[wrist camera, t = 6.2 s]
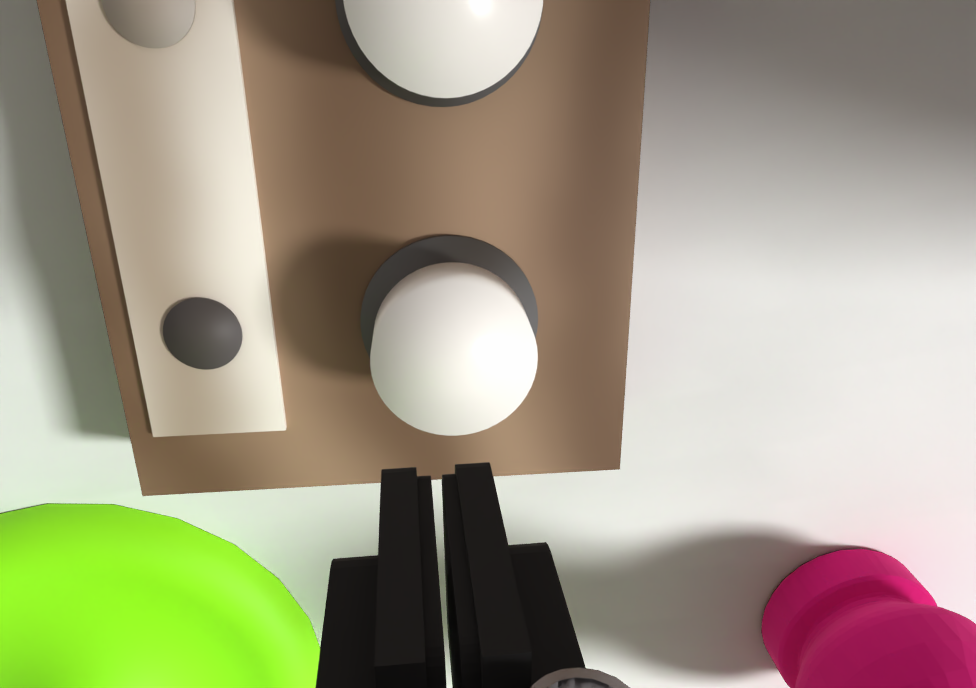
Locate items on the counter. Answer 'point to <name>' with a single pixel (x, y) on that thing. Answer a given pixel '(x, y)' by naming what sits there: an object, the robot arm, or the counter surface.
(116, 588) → the wineglass
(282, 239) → the button board
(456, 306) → the glass side button
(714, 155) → the counter surface
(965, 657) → the pepper mill
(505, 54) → the middle button
